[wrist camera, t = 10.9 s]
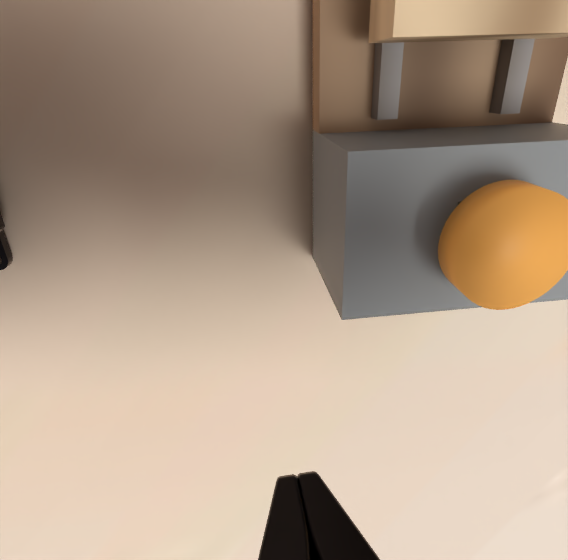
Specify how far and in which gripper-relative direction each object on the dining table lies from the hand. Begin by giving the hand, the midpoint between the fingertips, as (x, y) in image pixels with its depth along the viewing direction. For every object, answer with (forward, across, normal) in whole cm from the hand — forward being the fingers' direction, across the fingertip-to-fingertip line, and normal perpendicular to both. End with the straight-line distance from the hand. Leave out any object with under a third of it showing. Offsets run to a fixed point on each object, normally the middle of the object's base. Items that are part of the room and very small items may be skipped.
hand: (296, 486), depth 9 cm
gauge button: (+9, -8, -2) cm, 13 cm away
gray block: (+13, -8, -2) cm, 15 cm away
